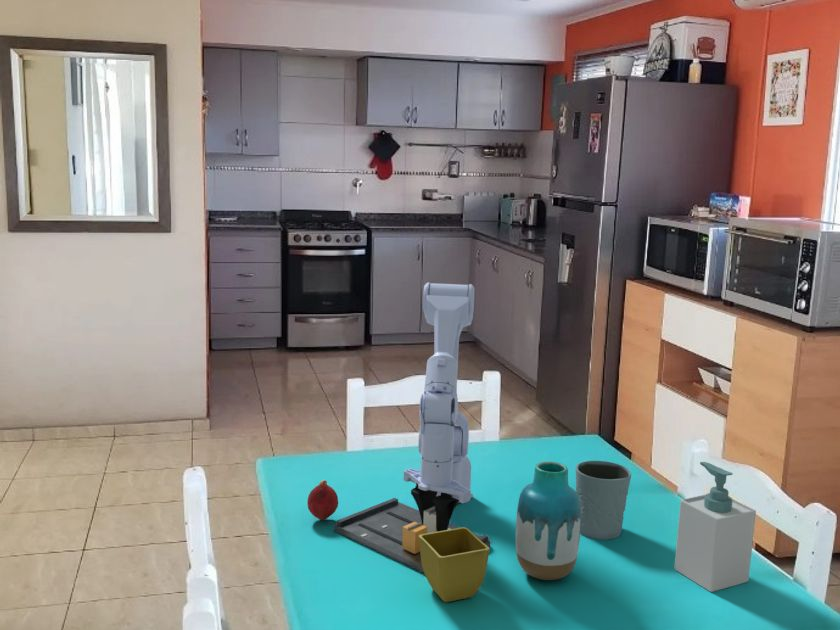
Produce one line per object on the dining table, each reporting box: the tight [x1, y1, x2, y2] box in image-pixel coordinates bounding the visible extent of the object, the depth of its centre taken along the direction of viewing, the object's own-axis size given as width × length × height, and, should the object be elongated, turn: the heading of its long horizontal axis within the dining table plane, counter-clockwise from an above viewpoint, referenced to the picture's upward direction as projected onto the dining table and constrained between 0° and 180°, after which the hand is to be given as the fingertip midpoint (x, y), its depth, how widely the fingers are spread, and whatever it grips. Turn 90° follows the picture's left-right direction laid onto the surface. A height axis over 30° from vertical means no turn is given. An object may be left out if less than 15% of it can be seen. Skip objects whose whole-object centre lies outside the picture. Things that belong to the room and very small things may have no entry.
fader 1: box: [402, 522, 427, 554], centre depth 151 cm, size 3×3×4 cm
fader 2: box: [423, 506, 437, 533], centre depth 158 cm, size 3×3×4 cm
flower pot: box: [419, 526, 490, 603], centre depth 139 cm, size 9×9×9 cm
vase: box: [515, 461, 581, 581], centre depth 145 cm, size 11×11×19 cm
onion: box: [307, 479, 339, 521], centre depth 164 cm, size 6×6×8 cm
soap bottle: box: [673, 461, 757, 593], centre depth 146 cm, size 9×9×19 cm
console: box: [333, 497, 491, 575], centre depth 158 cm, size 16×24×2 cm, turn 47°
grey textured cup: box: [575, 460, 632, 541], centre depth 163 cm, size 10×10×12 cm
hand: (434, 527), depth 158 cm, fingers closed on fader 2, 3 cm apart
